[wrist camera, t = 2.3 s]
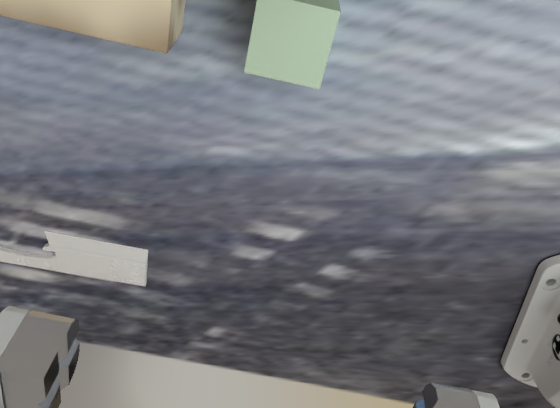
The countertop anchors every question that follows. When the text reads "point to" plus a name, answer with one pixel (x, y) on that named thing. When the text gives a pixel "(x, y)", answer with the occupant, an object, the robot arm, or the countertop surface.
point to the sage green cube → (292, 40)
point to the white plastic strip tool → (86, 259)
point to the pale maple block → (107, 19)
